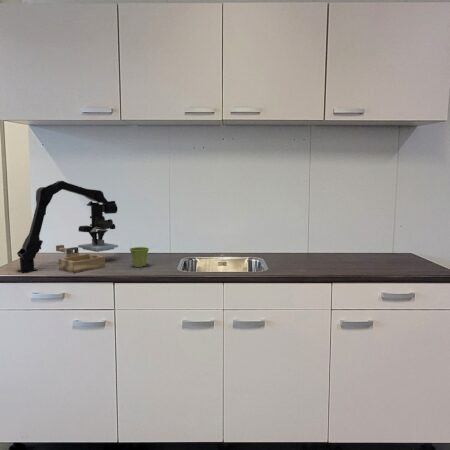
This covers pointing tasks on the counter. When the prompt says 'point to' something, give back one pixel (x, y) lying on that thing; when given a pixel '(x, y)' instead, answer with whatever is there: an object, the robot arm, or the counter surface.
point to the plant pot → (139, 256)
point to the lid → (98, 246)
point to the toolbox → (80, 261)
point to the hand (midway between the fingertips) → (98, 243)
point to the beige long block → (62, 249)
